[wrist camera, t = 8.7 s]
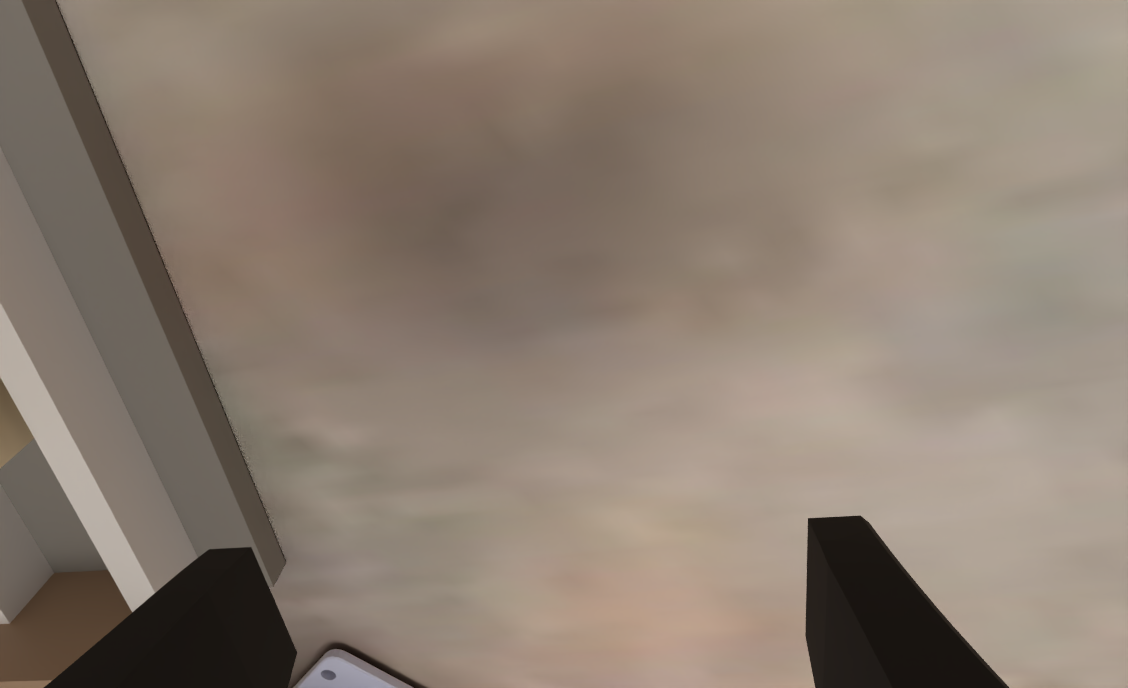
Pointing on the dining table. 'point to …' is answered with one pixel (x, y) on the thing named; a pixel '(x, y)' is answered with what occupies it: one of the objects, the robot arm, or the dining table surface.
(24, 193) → the track board
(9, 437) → the door panel
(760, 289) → the dining table surface
